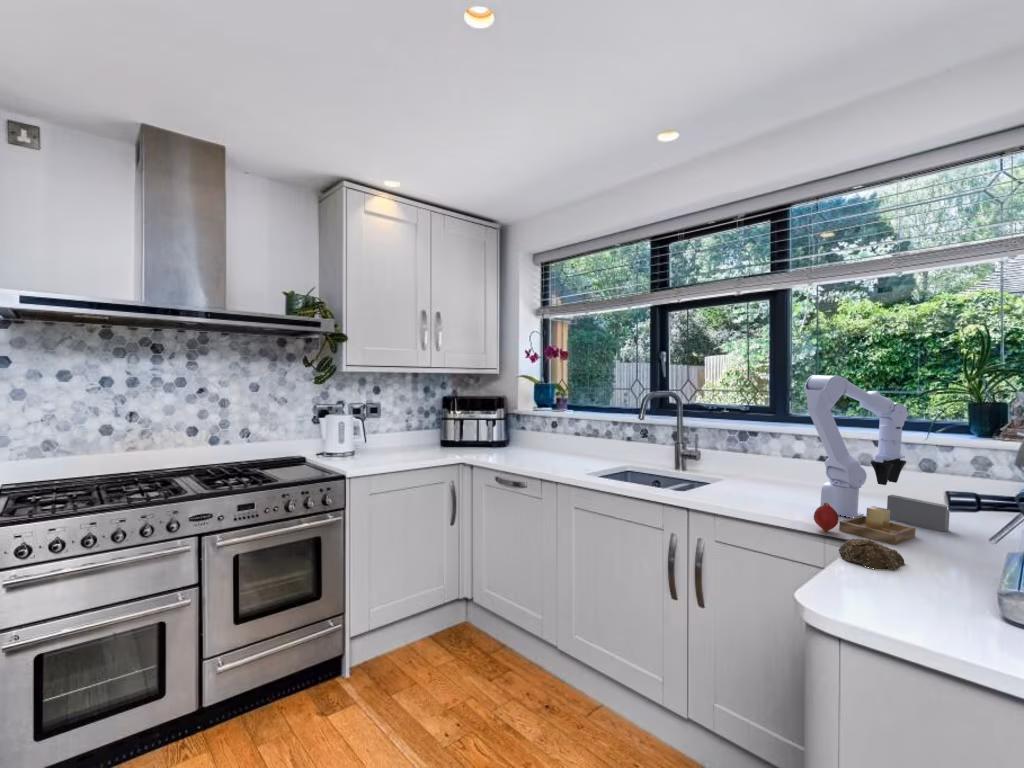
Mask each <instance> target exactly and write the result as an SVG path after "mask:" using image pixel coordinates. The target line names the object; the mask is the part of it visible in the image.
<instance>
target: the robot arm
mask: <svg viewBox="0 0 1024 768" xmlns="http://www.w3.org/2000/svg"><path fill="white" fill-rule="evenodd" d="M803 389H804V390H803V391H804V393H805V394H806V402H807V403H806V404H807V405H806V407H807V411H808V413H809V416H810V418H811V420H812V422H813V425H814V427H815V431H817V432H816V433H817V434H818V436H819V439H820V442H821V443H822V446H823V447H824V450H825V453H826V454H827V455H826V456H827V458H826V460H825V461H824V462H823V463H824V466H825V475H826V477H827V479H829V481H828V482H827V481H826V482H824V483H823V485H822V487H821V489H820V506H822V505H824V503H825V502H827V503H828V504H829V505H830V506H831V507H832V508H833V509H834V510H835V511H836V512H837V514H838V516H840V515H841V516H840V517H844V516H846V517H845V518H848V517H850V518H853V517H857V516H861V515H862V516H864V513H863V512H859V495H860V488H862V486H863V485H864V484H865V483H866V481H867V472H866V470H865V468H863V467H862V466H861V465H860V463H859V461H858V460H857V459H856V458H854V456H852V455H851V454H850V453H849V451H848V448H847V446H846V444H845V442H844V439H843V437H842V435H841V431H840V430H839V427H838V425H837V422H836V420H835V418H834V416H833V413H832V411H831V408H832V407H833V406H835V404H836V403H837V402H838V401H839V399H840V398H841V397H842V396H846V397H849V398H851V399H853V400H855V401H858V402H859V404H860V406H861V408H863V409H865V410H867V411H868V412H871V413H873V414H875V417H877V418H876V419H879V425H878V444H877V445H878V447H877V452H876V455H874V459H872V460H870V464H871V466H872V468H873V470H874V473H875V477H876V481H877V485H883V486H887V484H888V482H889V483H893V484H894V483H895V484H897V483H898V481H899V478H900V475H901V472H902V470H903V468H904V467H905V465H906V464H907V460H903V459H905V458H906V455H903V453H902V451H901V450H902V434H903V427H904V425H905V421H906V419H907V418H908V416H909V411H908V410H907V407H906V406H905V405H904V404H903V403H901V402H895V401H892V398H890V397H885V396H883V395H881V392H880V391H876V390H871V391H865V390H864V389H862V388H860V387H859V386H857V385H855V384H854V383H852V382H850V381H849V380H848V379H847V378H845V377H842V376H840V375H818V374H813V375H810V376H809V377H808V378H807V380H806V381H805V384H804V386H803ZM850 518H849V519H850Z"/></svg>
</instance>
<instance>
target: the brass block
mask: <svg viewBox="0 0 1024 768" xmlns="http://www.w3.org/2000/svg"><path fill="white" fill-rule="evenodd" d="M865 516H866V527H867V528H871V529H875V530H879V531H884V532H889V522H891V520H890V510H889V509H887V508H884V507H878V506H876V505H873V506H872V505H871V506H870V507H867V508H866V515H865Z"/></svg>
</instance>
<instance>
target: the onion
mask: <svg viewBox="0 0 1024 768" xmlns="http://www.w3.org/2000/svg"><path fill="white" fill-rule="evenodd" d="M813 520H814V523H816V525H817V526H818V527H819V528H821V531H823V532H828V531H830V530H832V529H834V528H836V526H837V525H838V524H839V521H840V520H839V515H838V514H837V512H836V511H835V510H834V509H833V508H832V507H831V506H830V505H829V504H828V503H827V502H825V503H824V505H822V506H821V505H820V506H819V507H817V508H816V509H815V511H814V513H813Z"/></svg>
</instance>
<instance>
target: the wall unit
mask: <svg viewBox="0 0 1024 768" xmlns="http://www.w3.org/2000/svg"><path fill="white" fill-rule="evenodd" d="M886 500H887V501H886V505H887V506H886V509H889V510H890V519H891V520H890V521H894V520H895V522H900V523H903V524H907V525H912V526H916V527H922V528H924V529H925V528H926V529H931V530H935V531H939V532H941V533H942V532H943V533H945V532H948V531H949V530H950V529H949V528H950V516H951V515H950V513H951V512H949V511H948V510H947V506H946V505H947V504H943V503H942V504H941V503H938V502H933V501H928V500H921V499H916V498H912V497H905V496H901V495H896V494H889V495H887V499H886Z"/></svg>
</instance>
